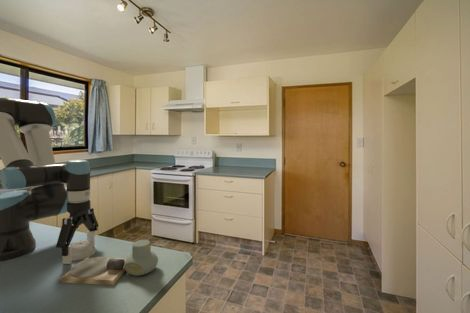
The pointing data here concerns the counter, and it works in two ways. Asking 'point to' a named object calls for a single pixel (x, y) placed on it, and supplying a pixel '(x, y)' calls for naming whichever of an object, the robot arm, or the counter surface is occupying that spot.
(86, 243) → the mechanical component
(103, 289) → the counter surface
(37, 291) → the counter surface
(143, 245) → the grey rounded piece
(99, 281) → the flange board
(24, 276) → the counter surface
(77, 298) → the counter surface
